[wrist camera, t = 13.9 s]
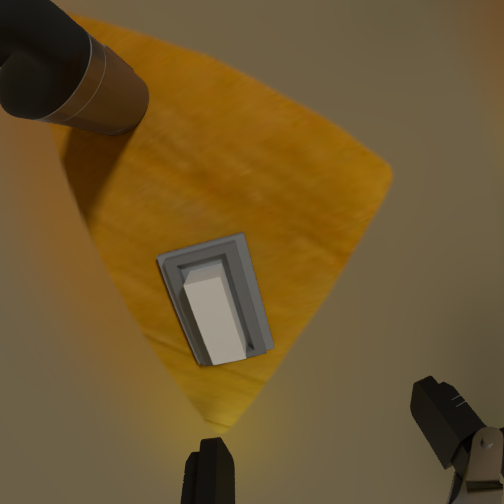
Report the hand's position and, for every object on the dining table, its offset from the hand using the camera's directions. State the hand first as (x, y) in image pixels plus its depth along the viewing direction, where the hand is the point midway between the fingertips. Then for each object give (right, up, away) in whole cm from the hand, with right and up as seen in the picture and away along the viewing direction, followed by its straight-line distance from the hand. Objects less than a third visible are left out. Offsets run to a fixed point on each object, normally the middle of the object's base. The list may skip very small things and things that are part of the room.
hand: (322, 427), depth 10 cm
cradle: (-8, 0, +31) cm, 32 cm away
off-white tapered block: (-7, -1, +30) cm, 31 cm away
